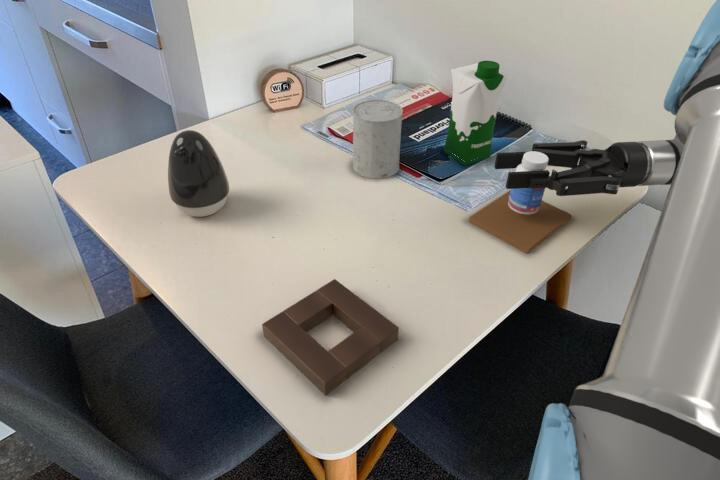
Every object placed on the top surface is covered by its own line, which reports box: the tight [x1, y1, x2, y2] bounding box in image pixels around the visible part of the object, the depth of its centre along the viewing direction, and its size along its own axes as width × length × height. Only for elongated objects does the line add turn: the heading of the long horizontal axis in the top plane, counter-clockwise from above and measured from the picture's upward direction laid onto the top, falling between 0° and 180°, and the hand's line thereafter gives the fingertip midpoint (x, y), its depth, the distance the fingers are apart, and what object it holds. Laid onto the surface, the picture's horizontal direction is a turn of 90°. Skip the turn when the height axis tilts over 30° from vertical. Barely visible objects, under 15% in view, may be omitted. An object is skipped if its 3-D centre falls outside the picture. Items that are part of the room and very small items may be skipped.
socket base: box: [261, 278, 400, 396], centre depth 70 cm, size 13×13×2 cm
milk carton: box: [443, 60, 509, 167], centre depth 105 cm, size 9×9×20 cm
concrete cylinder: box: [352, 99, 404, 180], centre depth 103 cm, size 10×10×12 cm
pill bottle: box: [508, 150, 549, 214], centre depth 88 cm, size 6×5×10 cm
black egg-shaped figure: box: [167, 129, 230, 218], centre depth 90 cm, size 10×10×15 cm
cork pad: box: [468, 189, 573, 254], centre depth 92 cm, size 14×12×1 cm
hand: (502, 170), depth 86 cm, fingers closed on pill bottle, 5 cm apart
